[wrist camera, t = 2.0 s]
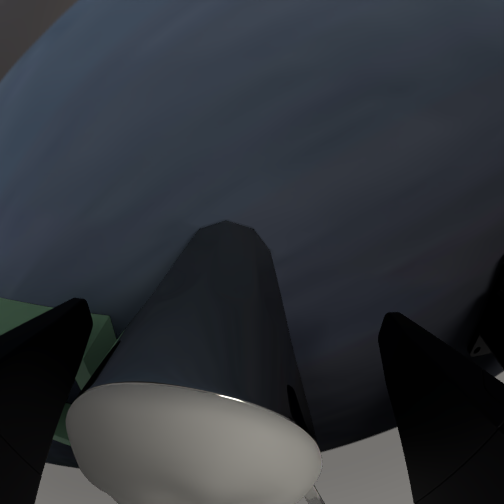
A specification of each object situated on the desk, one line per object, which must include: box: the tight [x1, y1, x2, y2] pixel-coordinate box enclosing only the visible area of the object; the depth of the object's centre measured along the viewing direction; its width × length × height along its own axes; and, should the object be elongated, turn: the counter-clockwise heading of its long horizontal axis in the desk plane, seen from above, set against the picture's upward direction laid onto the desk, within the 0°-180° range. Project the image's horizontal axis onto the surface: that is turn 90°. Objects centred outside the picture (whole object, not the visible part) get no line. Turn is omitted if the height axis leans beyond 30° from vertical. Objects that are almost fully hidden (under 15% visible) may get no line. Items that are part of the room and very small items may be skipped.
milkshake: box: [66, 220, 325, 504], centre depth 7 cm, size 4×5×10 cm
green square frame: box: [0, 298, 116, 446], centre depth 14 cm, size 10×10×3 cm
